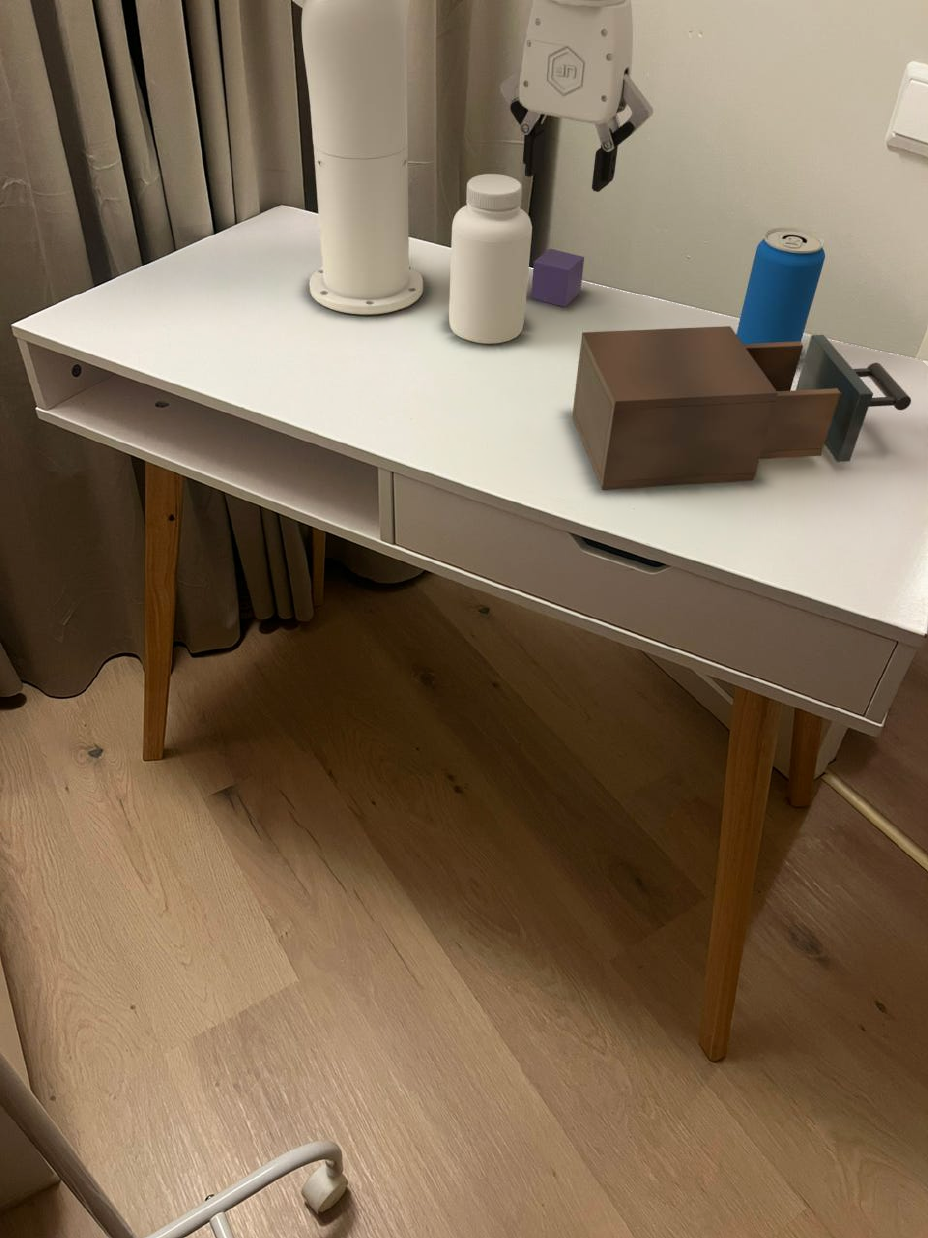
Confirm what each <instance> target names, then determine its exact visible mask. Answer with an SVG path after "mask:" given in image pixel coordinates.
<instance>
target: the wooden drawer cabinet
mask: <svg viewBox="0 0 928 1238" xmlns="http://www.w3.org/2000/svg"><path fill="white" fill-rule="evenodd" d="M736 334H737V333H736V332H735V331H734V330H733V328H732V327H731V326H730V325H724V326H702V327H701V326H700V327H699V326H698V327H676V328H655V329H653V328H652V329H632V330H607V331H605V330H604V331H585V332H584V331H583V332H581V338H580V348H579V357H578V365H577V373H576V380H575V390H574V398H573V406H572V407H573V408H572V416H571V417H572V420H573V422H574V425H575V428H576V429H577V432H578V435H579V437H580V440H581V441H582V444H583V447H584V449H585V451H586V454H587V456H588V459H589V461H590V464H591V466H592V468H593V471H594V473H595V476H596V479H597V481H598V483H599V486H600V488H601V490H617V489H631V488H633V489H634V488H648V487H663V486H679V485H680V486H681V485H697V484H710V483H711V484H712V483H713V484H714V483H729V482H743V481H744V482H746V481H754V480H755V476H756V472H757V470H758V466H759V462H760V460H761V459H760V455H761V452H762V448H763V445H764V441H765V437H766V434H767V430H768V426H769V423H770V419H771V416H772V412H773V408H774V405H775V401H776V398H777V394H778V393H777V391H776V390H775V388H774V387H773V386H772V384H771V383H770V381H769V380H768V379H767V377H766V376H765V374H764V373H763V372H762V370H761V369H760V367H759V366H758V365H757V363H756V362H755V360H754V359H753V358H752V356H751V355H750V353H749V352H748V351H747V349H746V348H745V346H744V345H743V344H742V342H741V341H740V339H739V338H738V337H737V335H736Z"/></svg>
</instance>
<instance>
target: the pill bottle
mask: <svg viewBox="0 0 928 1238" xmlns="http://www.w3.org/2000/svg"><path fill="white" fill-rule="evenodd" d="M522 192H523V186H522V183H521V182H520V181H519V180H518V179H516V178H514V177H512V176H509V175H506V174H505V175H504V174H497V173H485V174H484V173H483V174H479V175H475V176H472V177H471V178H470V179H469V180H468V181H467V183H466V199H465V200H466V205H463V206H462V207H461V208H460V209H459V210H457V212H456V213H455V215H454V217H453V220H452V223H451V224H452V225H451V245H450V247H451V248H450V249H451V250H450V275H449V277H450V280H449V305H448V306H449V307H448V319H449V320H448V321H449V323H448V324H449V327H450V329H451V331H452V332H453V333H454V334H455V335H456V336H458V337H459V338H461V339H463V340H466V341H469V342H472V343H478V344H500V343H505V342H509V341H511V340H513V339H515V338H517V337H518V336H519V335H520V334H521V333H522V331H523V328H524V322H525V316H526V315H525V314H526V305H527V304H526V302H527V291H528V282H529V281H528V280H529V268H530V258H531V257H530V256H531V246H532V234H533V225H532V221H531V218H530V216H529V214H528V213H527V212H526V211H525V210H523V209H522V208H521V205H522V202H521V201H522V195H523V193H522Z"/></svg>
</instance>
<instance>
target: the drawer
mask: <svg viewBox="0 0 928 1238" xmlns="http://www.w3.org/2000/svg"><path fill="white" fill-rule="evenodd" d="M743 345H744V346H745V348H746V349H747V351H748V352H749V353H750V355H751V356H752V358H753V359H754V360H755V362H756V363H757V365H758V366H759V367H760V369H761V370H762V372H763V373H764V374H765V376H766V377H767V379H768V380H769V381H770V383H771V384H772V386H773V387H774V388H775V390H776V391H777V393H778V394H777V398H776V401H775V405H774V408H773V412H772V416H771V419H770V423H769V426H768V430H767V434H766V437H765V441H764V445H763V448H762V452H761V455H760V459H759V460H771V459H772V460H776V459H791V458H793V459H794V458H809V457H821V456H822V453H823V450H824V447H826V449H827V450H828V452H829V453H830V454H831V456H832V457H833V458H834V460H835V461H836V463H847V462H851V459H852V456H853V454H854V450H855V448H856V445H857V442H858V439H859V436H860V433H861V431H862V428H863V425H864V422H865V419H866V417H867V413H868V410H869V408H874V407H889V406H892V407H894V408H895V409H896V410H898V411H904V410H906V409H908V408H909V407H910V405H911V404H912V398H911V397H910V396H909V395H908V394H907V392H906V391H905V390H904V389H903V388H902V386H901V385H899V383H898V382H897V381H896V380H895V379H894V378H893V377H892V375H891V374H889V372H888V371H887V370H886V369H885V368H884V367H883V366H882V364H881V363H880V362H873V363H870V364H869V365H868V366H867V367H861V368H852V367H851V365H850V364H849V363H848V361H846V359H845V357H843V356H842V354H841V353H840V352H839V351H838V350H837V349H836V347H834V345H833V344H832V343H831V341H830V340H829V339H828V338H827V337H826V336H825V334H812V335H811V336H810V339H809V341H808V346H807V350H806V352H805V353H806V354H805V357H804V360H803V364H802V367H801V370H800V373H799V377H798V380H797V384H796V386H795V387H796V388H795V390H792V387H793V382H794V379H795V376H796V372H797V368H798V365H799V361H800V359H801V355H802V351H803V348H804V345H803V344H802V341H801V342H800V341H799V342H776V343H754V344H743ZM862 378H869V379H870V380H871V382H872V383H873V384H874V385H875V386H876V387H877V388H878V390H879V391H880V392H881V393H882V394H883V395H884V396H880V397H878V396H877V397H873V396H874V393H873V391H872V390H871V389H870V387H868V385H867V384H866V383H865V382H864V380H863V379H862Z"/></svg>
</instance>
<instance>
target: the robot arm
mask: <svg viewBox="0 0 928 1238" xmlns="http://www.w3.org/2000/svg"><path fill="white" fill-rule="evenodd" d="M291 1H292V2H293V3H294V4H296V5H297V6H298V7H300V8H301V9H302V11H301V40H302V48H303V49H302V50H303V58H304V64H305V72H306V73H305V74H306V80H307V87H308V95H309V107H310V118H311V130H312V131H311V132H312V144H313V155H314V157H313V158H314V169H315V171H314V172H315V184H316V194H317V195H316V197H317V212H318V226H319V239H320V240H319V241H320V251H321V252H320V254H321V265H322V266H320V267H319V268H317V269H316V270H315V271H314V272H313V273H312V275H311V276H310V278H309V293H310V295H311V297H312V298H313V299H314V300H315V301H316V302H318V303H319V304H320V305H322V306H323V307H325V308H328V309H330V310H333V311H336V312H340V313H346V314H351V315H379V314H380V315H381V314H386V313H387V314H388V313H391V312H395V311H396V312H397V311H399V310H403V309H405V308H407V307H409V306H411V305H413V304H414V303H415V302H417V301H418V300H419V299H420V297H421V296H422V294H423V293H424V279H423V276H422V275H421V274H420V272H419V271H418V270H416V269H415V268H414V267H412V266H411V265H410V248H409V247H410V241H409V238H410V237H409V232H410V231H409V156H408V155H409V151H408V150H409V149H408V148H409V147H408V143H409V142H408V87H407V86H408V85H407V84H408V83H407V44H408V43H407V38H408V37H407V36H408V35H407V34H408V21H409V10H410V0H291ZM633 23H634V22H633V6H632V0H533V1H532V6H531V9H530V14H529V18H528V24H527V29H526V34H525V40H524V45H523V52H522V59H521V66H520V67H519V68H518V69H517V70H516V71H515V72H513V73H512V74H510V75H509V76H508V77H507V78H505V80H504V81H502V82H501V83H500V84H499V90H500V93H501V95H502V96H503V98H504V100H505V102H506V103H507V105H508V106H509V109H510V112H511V113H512V116H513V118H514V119H515V120H516V122H517V123H518V125H519V130H520V132H521V134H522V135H523V136H524V137H523V150H522V152H523V153H522V164H524V176H525V177H529V178H531V177H533V176H535V175H536V174H537V173H539V172H540V171H542V170H543V169H544V165H545V153H546V141H547V138H546V137H547V131H546V128H545V127H543V123H544V122H545V119H546V118H547V116H551V117H555V118H561V119H564V120H565V119H566V120H571V121H575V122H581V123H587V124H592V125H593V124H594V125H595V128H596V130H597V135H598V137H599V141H600V148H598V149H596V151H595V154H594V164H593V174H592V182H591V189H592V191H593V192H596V193H600V192H601V191H602V190H603V189H604V188H606V187H607V186H608V185H609V184H610V183H611V182H613V180H614V178H615V174H616V173H615V172H616V164H617V158H618V157H617V156H618V148H619V145H621V144H622V143H623V142H624V141H626V140H627V139H628V138H629V137H630V136H631V135H633V134H634V133H635V132H637V130H638V129H639V128H641V127H642V126H643V125H644V124H645V123H646V122H647V121H648V120H649V119H650V118H651V117H652V116H653V114H654V108H653V106H652V105H651V104H650V103H649V100H647V98H645V95H643V93H642V92H641V90H640V89H639V88H638V86H637V85H636V84H635V82H634V81H633V79H632V69H633V68H632V67H633V66H632V65H633V47H634V46H633V45H634V29H633V27H634V24H633ZM627 106H628V107H629V109H630V111H631V115H630V117H629V118H628V119H627V120H626V121H625V122H624V123H623V124H622V125H621V121H620V119H619V115H618V114H619V113H623V112H624V111H625V109H627Z"/></svg>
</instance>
